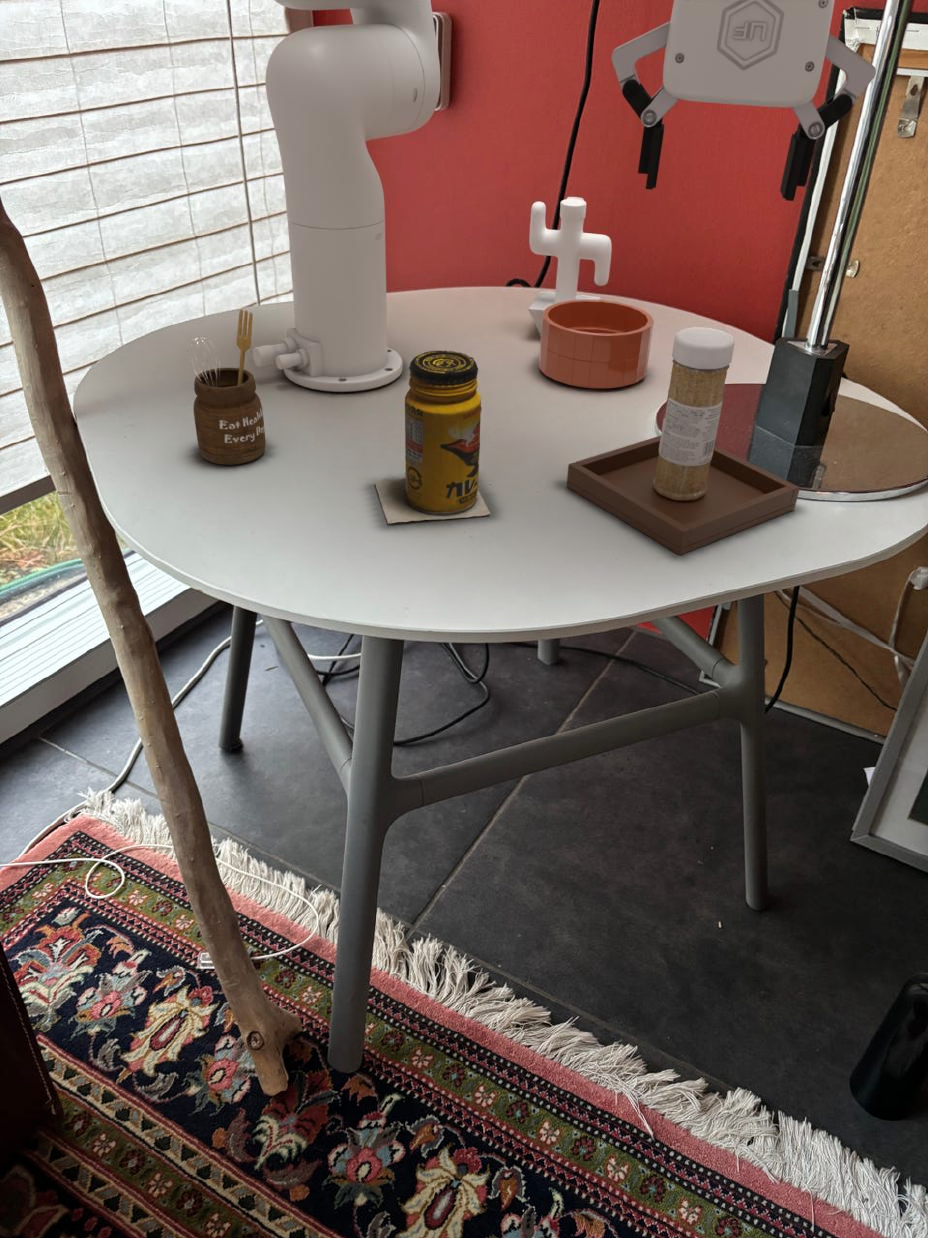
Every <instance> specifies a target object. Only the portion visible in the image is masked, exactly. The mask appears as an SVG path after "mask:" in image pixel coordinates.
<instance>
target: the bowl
mask: <svg viewBox="0 0 928 1238" xmlns="http://www.w3.org/2000/svg"><path fill="white" fill-rule="evenodd" d="M654 323H655V322H654V319H653V316H652V315H651V314H650V313H649V312H647V311H646V310H644V309H642V308H639V307H638V306H637V307H636V306H635V305H631V304H628V303H623V302H619V301H613V300H612V301H611V300H606V299H605V300H604V299H599V300H586V299H585V300H570V301H565V302H560V303H556V304H553V305H551V306H549V307H547V308H546V309H545V310H544V311H543V313H542V325H541V336H540V340H539V355H538V366H539V367H538V368H539V370H540V371H541V372H542V374H544V375H545V376H546V377H548V378H551V379H553V380H554V381H557V382H560V383H562V384H565V385H569V386H572V387H576V388H583V389H591V390H592V389H594V390H606V389H616V388H622V387H626V386H629V385H633V384H636V383H638V382H639V381H642V380H643V379H644V378H645V376H646V374H647V372H648V365H649V359H650V351H651V345H652V344H651V343H652V336H653V330H654Z"/></svg>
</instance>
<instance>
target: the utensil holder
mask: <svg viewBox="0 0 928 1238" xmlns="http://www.w3.org/2000/svg"><path fill="white" fill-rule="evenodd" d="M253 318H254V313H253V312H252V311H250V312H249V311H248V310H245V311H244V310H243V308H240V309H239V313H238V323H237V331H236V332H237V333H236V342H235V343H236V346H237V348H238V349H239V351H240V352H239V353H240V354H239V366H238V367H221V363H220V359H219V355H218V352H217V350H216V347H215V345H214V344H213V343H212V341H211V340H210V339H209V338H207V336H204V337H202V338H201V336H197V337H193V338H192V339H191V340H190V341H189V343H188V344H187V348H186V349H187V350H186V352H187V356H188V359H189V362H190V365H191V368H192V370H193V371H194V374H195V375H196V377H195V378H194V382H193V383H194V384H193V390H194V394H195V395H196V397H195V399H194V402H193V418H194V426H195V432H196V433H195V434H196V440H197V445H198V449H199V452H200V454H201V457H203V458H204V460H206V461H208V462H210V463H213V464H217V465H225V466H233V465H241V464H247V463H249V462H252V461H255V460H257V459H258V458H259V457H261V456H262V455H263V454H264V452H265V450H266V429H265V420H264V412H263V406H262V402H261V399H260V397H259V395H258V394H257V393H256V391H257V383H256V380H255V377H254V374H253V373H252V372H251V371H249V370H247V369H245V358H246V352H247V351H249V350H250V349H251V346H252V335H253V333H252V332H253ZM203 339H204V340H205V341H206V340H207V341H208V342H209V343H210V345H211V348H212V351H213V355H214V358H215V363H214V359H213V356H212V354H211V351H210V349H209V346H208V345H207V344H206V342H203ZM199 340H200V343H201V346H202V349H203V352H204V355H205V360H206V364H207V367H208V369H207V370H205V365H204V362H203V359H202V355H201V351H200V347H199V345H197V349H198V354H199V357H200V360H201V364H202V368H203V370H204V371H202V369H201V368H200V365H199V363H198V360H197V357H196V354H195V350H194V347H193V345H194V343H195V341H197V343H199ZM203 343H204V344H203ZM190 344H191V345H190ZM204 345H205V346H206V348H207V350H208V351H209V354H210V357H211V360H212V364H213V367H214V368H211V369H210V365H209V362H208V361H209V360H208V357H207V354H206V351H205V348H204ZM189 346H191V347H190V349H192V350H193V356H194V358H195V362H196V364H197V366H198V369H199V371H200V373H198V372H197V370H196V367H195V365H194V364H195V363H194V360H193V357H192V355H190V354H189ZM217 360H218V361H217ZM215 365H216V366H215ZM218 365H219V367H218Z"/></svg>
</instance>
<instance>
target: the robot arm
mask: <svg viewBox="0 0 928 1238" xmlns="http://www.w3.org/2000/svg"><path fill="white" fill-rule="evenodd" d="M274 1H275V2H276V3H277V4H278V5H280V6H282V7H285V8H289V9H292V10H300V11H326V10H327V11H328V10H329V11H330V10H331V11H333V10H349V11H350V15H351V19H352V24H349V23H348V24H335V25H321V26H320V25H318V26H312V27H306V28H302V29H300V30H296V31H295V32H292V33H290V34H288V35H287V36H286V37H284V38H283V39H281V40H280V42H279V43H278V44H277V45H276V46H275V47H274V49H273V50H272V52H271V54H270V56H269V59H268V61H267V64H266V68H265V69H266V70H265V81H264V82H265V92H266V99H267V104H268V108H269V112H270V117H271V120H272V123H273V129H274V132H275V137H276V141H277V145H278V149H279V155H280V161H281V168H282V176H283V185H284V197H285V208H286V218H287V230H288V232H287V233H288V245H289V258H290V273H291V285H292V299H293V311H294V324H295V325H294V326H295V327H292V328H287V329H286V338H282V339H281V340H280V341H279V343H276V344H266V345H260V346H256V347H253V349H252V358H253V361H254V364H255V365H256V366H257V367H264V366H268V365H273V364H275V365H276V367H277V369H278V370H283V372H284V375H285V376H286V377H287V378H288V380H289V381H291V382H293V383H294V384H295V385H296V384H297V385H299V386H302V387H304V388H306V389H311V390H317V391H323V392H333V393H334V392H335V393H339V392H340V393H346V392H347V393H349V392H350V393H351V392H360V391H367V390H371V389H377V388H379V387H383V386H385V385H388V384H390V383H392V382H394V381H395V380H396V379H398V378H399V377H400V376H401V374H402V373H403V368H404V367H403V358H402V356H401V354H399V352H397V351H395V350H394V349H392V348H390V347H389V346H388V306H387V305H388V302H387V297H388V296H387V256H386V255H387V253H386V251H387V250H386V249H387V247H386V211H385V210H386V204H385V193H384V188H383V184H382V180H381V178H380V174H379V172H378V170H377V168H376V166H375V163H374V161H373V159H372V157H371V155H370V153H369V150H368V147H367V143H366V142H370V141H372V140H377V139H383V138H388V137H394V136H399V135H400V136H401V135H405V134H409V133H412V132H415V131H417V130H419V129H420V128H422V127H423V126H424V125H426V124H427V123H428V122H429V121H430V119H431V118H432V117H433V114H434V113H435V110H436V108H437V105H438V103H439V98H440V93H441V64H440V56H439V47H438V42H437V35H436V29H435V22H434V14H433V9H432V3H431V2H432V1H431V0H274ZM835 1H836V0H673V3H672V10H671V14H670V20H668V21H667V22H665V23H663V24H661V25H659V26H657V27H655V28H653V29H651V30H649V31H646V32H644V33H643V34H641V35H639V36H637V37H635V38H633V39H630V40H629V41H627V42H625V43H623V44H621V45H619V46H617V47H616V48H614V49H613V51H612V53H611V56H610V59H611V63H612V66H613V69H614V72H615V74H616V77H617V81H618V83H619V87H620V89H621V93H622V97H623V98H624V99H625V101H626V102H627V104H628V105H629V106H630V107H631V109H632V111H634V113H635V115H636V116H637V117H638V119H639V120H640V122H641V124H642V125H643V131H642V138H641V147H640V154H639V159H638V160H639V161H638V167H637V169H638V170H637V174H638V175H639V174H640V175H646V181H645V182H646V183H645V190H649V191H650V190H651V191H653V189H656V188H657V181H658V175H659V169H660V161H661V156H662V155H661V154H662V148H663V142H664V141H663V140H664V133H665V124H664V123H663V119H664V116H665V115H666V114H667V113H668V112H669V111H670V110H671V109H672V108H673V107H674V106H675V105H676V104H677V103H678V102H679V100H683V101H689V102H698V103H708V104H711V103H712V104H725V105H737V106H751V107H752V106H753V107H766V108H791V109H792V111H793V113H794V115H795V117H796V118H797V120H798V122H799V123H798V125H797V127H796V130H795V131H794V133H792V134H791V137H790V141H789V146H788V151H787V156H786V160H785V163H784V169H783V174H782V179H781V184H780V189H779V191H780V194H781V196H782V199H784V200H785V201H786V202H787V201H788V202H794V200H795V198H796V193H797V188H798V187H805V188H806V186H807V182H808V179H809V176H810V175H809V174H810V171H811V166H812V160H813V156H814V154H815V153H814V152H815V148H816V144H817V140H818V139H819V138H821V137H822V136H823V135H824V133H825V132H826V131H827V130H828V129H829V128H831V127H832V126H833V125H835V124H836V123H837V122H838V121H840V120H841V119H842V118H844V117H845V116H846V115H848V114H849V112H850V111H851V110H852V108H853V106H854V104H855V103H856V102H857V100H858V99H860V97H861V96H862V94H863V93H864V91H865V90H866V89H867V87H869V85H870V84H871V83H872V81H873V80H874V78H875V77H876V74H877V69H876V67H875V66H874V65H873V64H872V63H870V62H869V61H868V60H867V59H865V58H864V57H863V56H861V55H860V54H858V53H857V52H856V51H854V50H853V49H852V48H850V47H849V46H848V45H846V44H845V43H844V42H842V41H841V40H839V38H837V37H835V36H834V35H833V34H832V33H830V30H831V24H832V18H833V13H834V7H835ZM663 48H665V51H664V59H663V69H662V86H661V87H660V88H659V90H657V91H656V92H655V93H654V94H653V95H652V96H651V95H650V94H649V93H648V91H647V90H646V88H645V87H644V86H643V84H642V83H641V81H640V79H639V77H638V73H637V70H636V63H637V62H638V61H639V60H641V59H643V58H645V57H648V56H649V55H652V54H653V53H655V52H657V51H660V50H662V49H663ZM825 59H826V60H827V61H829V62H830V63H831V64H833V66H835V67H837V68H838V69H839V70H841V71H842V72H844V74H845V78H844V79H845V80H844V81H843V82H842V84H841V86H840V88H839V89H838V91H837V92H836V93H835V94H834V95H832V96H831V97H829V98H828V99H827V100H826V101H825V102H824V103H822V104H821V105H820V106H819V107H818V108H816V106H815V104H814V102H813V98H814V97H815V95H816V93H817V91H818V88H819V85H820V81H821V77H822V73H823V68H824V63H825Z"/></svg>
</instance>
